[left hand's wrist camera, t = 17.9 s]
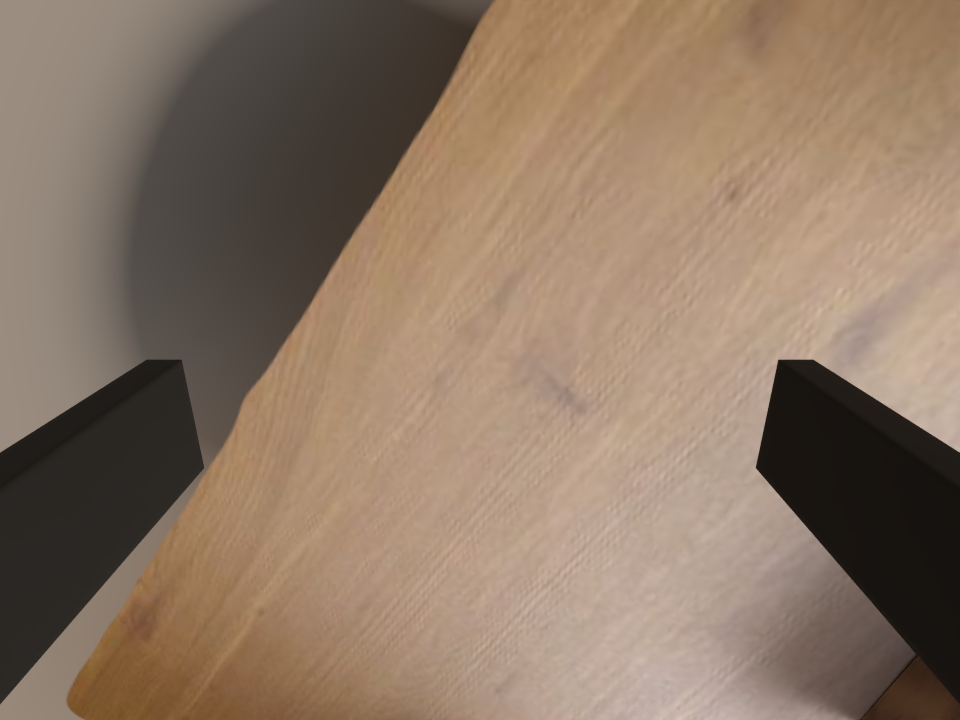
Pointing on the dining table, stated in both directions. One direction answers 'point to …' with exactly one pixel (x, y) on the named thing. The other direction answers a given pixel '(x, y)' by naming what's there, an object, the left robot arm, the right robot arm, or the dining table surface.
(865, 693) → the dining table surface
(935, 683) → the box
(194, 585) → the dining table surface
